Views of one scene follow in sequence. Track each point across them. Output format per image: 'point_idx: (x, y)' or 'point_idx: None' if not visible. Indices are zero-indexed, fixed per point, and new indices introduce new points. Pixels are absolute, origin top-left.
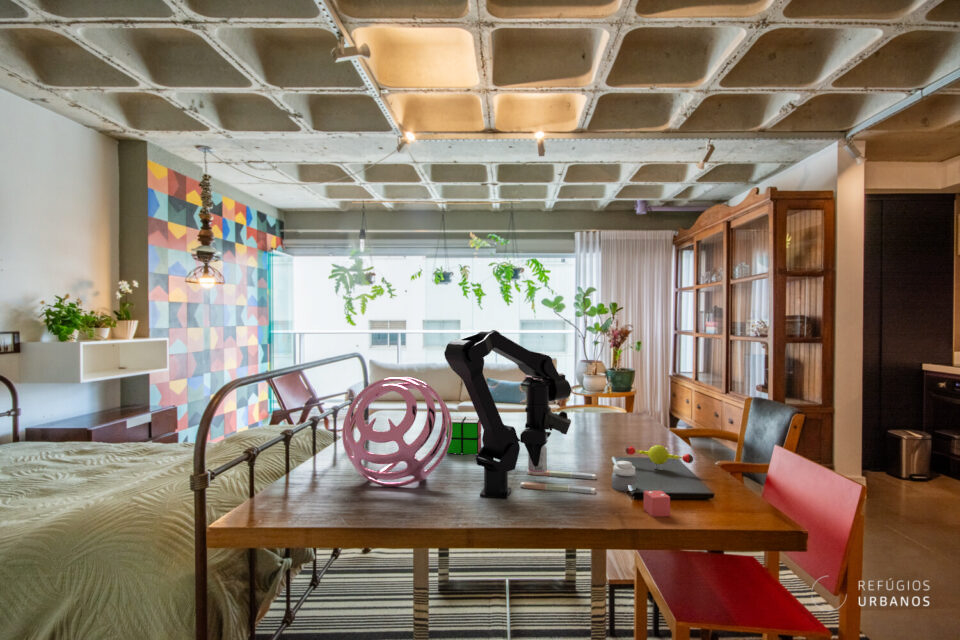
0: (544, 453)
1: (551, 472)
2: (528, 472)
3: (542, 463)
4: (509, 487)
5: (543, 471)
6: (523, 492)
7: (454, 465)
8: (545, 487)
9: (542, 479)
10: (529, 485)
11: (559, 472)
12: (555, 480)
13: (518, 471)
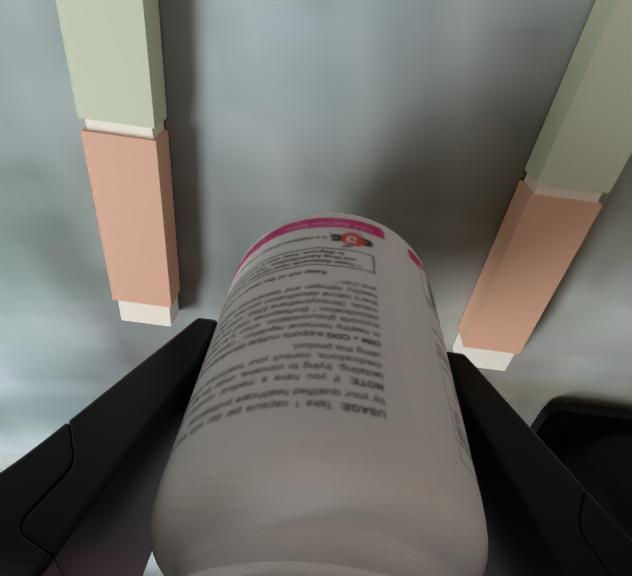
0: (437, 418)
1: (146, 119)
2: (173, 309)
3: (437, 327)
4: (545, 418)
5: (413, 254)
6: (609, 338)
7: (154, 565)
8: (595, 194)
9: (290, 200)
10: (535, 316)
11: (111, 13)
12: (302, 69)
13: (134, 356)
